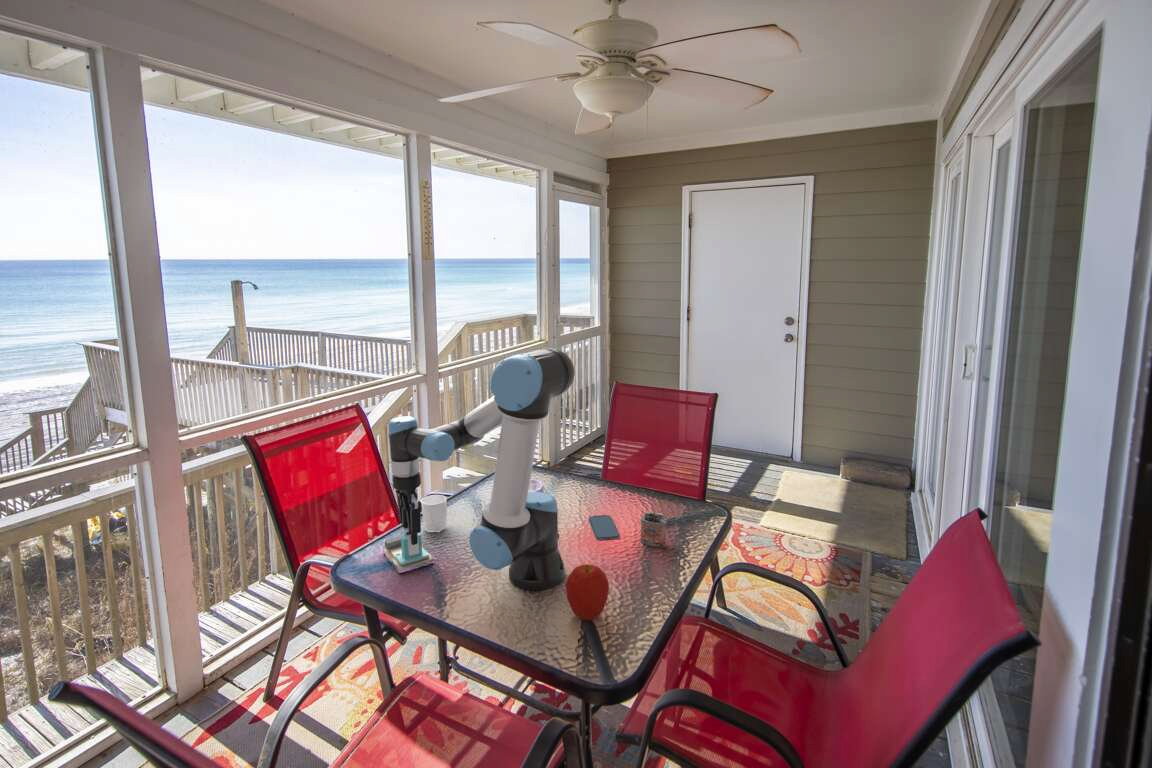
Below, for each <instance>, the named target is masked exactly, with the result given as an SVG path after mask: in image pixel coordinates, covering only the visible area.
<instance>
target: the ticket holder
mask: <svg viewBox="0 0 1152 768" xmlns="http://www.w3.org/2000/svg"><path fill="white" fill-rule="evenodd" d="M384 548H385V549H384ZM384 548H383V550H382V552H383V551H384V552H385V553H386V554H387V555H388V556H389V558H390V559H391V560H392V561H393V562H394V564H395V565H396V566H397V567H398V569H399V570H401V569H404V568H408V567H411V566H415V565H419V564H423V563H427V562H432V561H434V562H435V558H434V557H433V556H432V555H431V554H430V553H429V552H428V550H426V549H425V547H423V546H422V548H423V549H424V550H425V551H426V552H427V553H428V554H429V558H425V559H422V560H419V561H416V562H412V563H409V564H406V565H403V566H401V564H400V563H399V562H398V561H397V560H396V558H395V556H397V555H400V554H402V548H401V536H398V537H397V536H396V537H394V538H391V539H387V540H384Z"/></svg>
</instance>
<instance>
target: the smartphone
mask: <svg viewBox="0 0 1152 768" xmlns="http://www.w3.org/2000/svg"><path fill="white" fill-rule="evenodd" d="M588 522H589V525H590V527H592V528H591V530H592V533H593V532H594V533H593V536H594V538H595V539H596V541H603V540H604V539H607V540H614V539H613V538H618V539H619V538H620V534H619V531H618V530H617V527H616V524H615V523H614V520H613V518H612V516H611V515H609V514H602V515H591V516H589V517H588ZM601 539H603V540H601Z"/></svg>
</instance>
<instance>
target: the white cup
mask: <svg viewBox="0 0 1152 768" xmlns="http://www.w3.org/2000/svg"><path fill="white" fill-rule="evenodd" d="M447 501H448V500H447V497H446V496H445V495H442V494H431V495H427V496H424V497H423V498H422V499H421V500H420V502H421V513H422V519H423V524H424V530H425V529H426V530H428V531H435V532H436V531H441V530H444V529H445V528H446V529H447V515H448V514H447V513H448V512H447V509H448V507H447ZM446 529H445V530H446ZM445 530H444V531H445Z"/></svg>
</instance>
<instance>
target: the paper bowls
mask: <svg viewBox="0 0 1152 768" xmlns="http://www.w3.org/2000/svg"><path fill="white" fill-rule="evenodd" d="M544 487H545V486H544V484H543V482H542V481H540V480H539V479H535V478H530V484H529V490H528V492H541V493H545V492H544V489H545V488H544Z"/></svg>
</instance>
